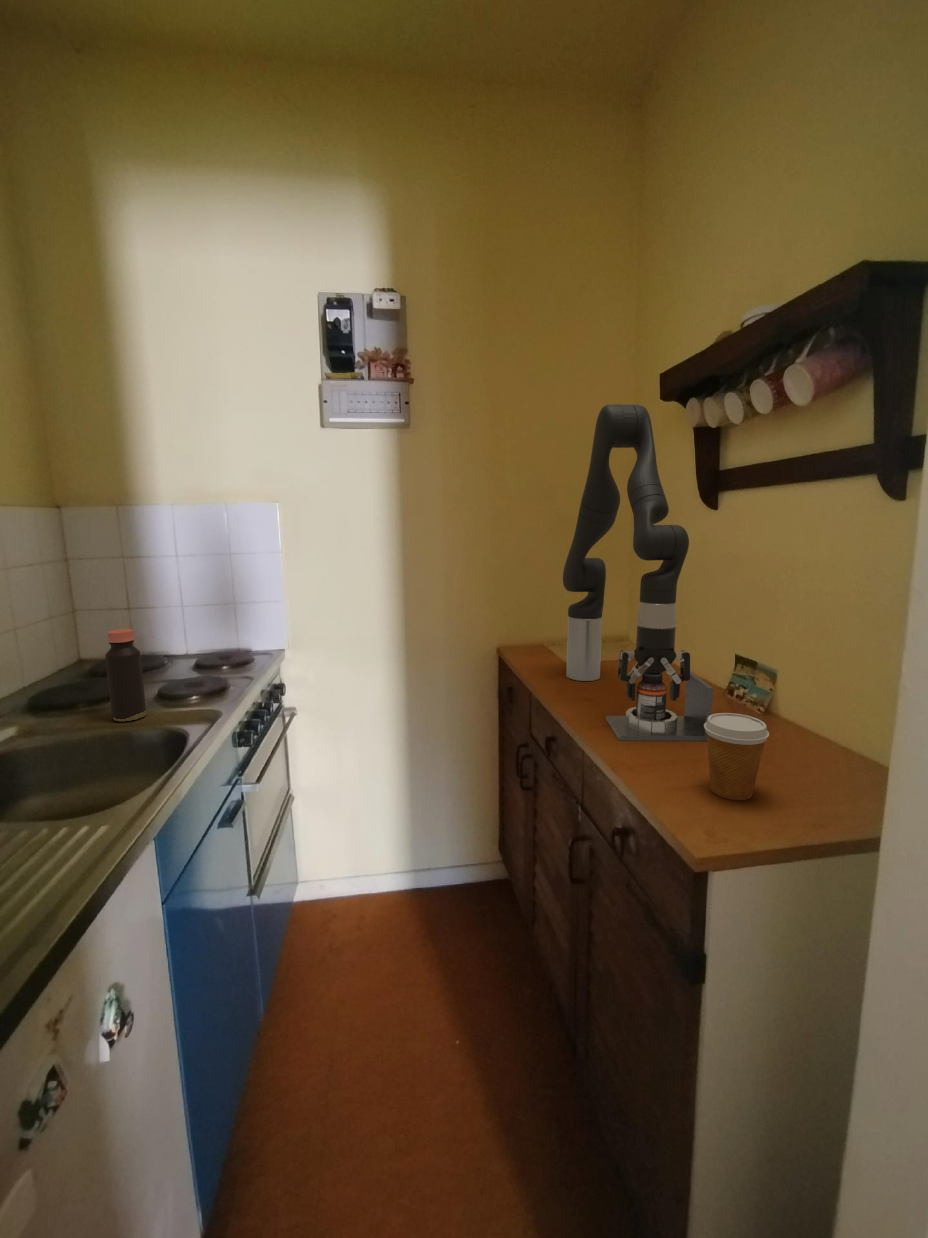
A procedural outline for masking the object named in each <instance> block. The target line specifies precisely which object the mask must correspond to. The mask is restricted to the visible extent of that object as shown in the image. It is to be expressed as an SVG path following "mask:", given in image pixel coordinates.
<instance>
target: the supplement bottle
mask: <svg viewBox="0 0 928 1238" xmlns="http://www.w3.org/2000/svg"><path fill="white" fill-rule="evenodd" d="M641 678H642V679H641V681H639V682H638V683H637V685H636V700H635V701H636V702H635V703H636V704H635V705H636V706H635V707H636V717H638V718H641V719H646V720H652V721H663V720H665V713H666V710H667V705H666V704H667V685H666V684H665V683H664V680H663V673H658V672H653V673H647V672H644V673H643V674H642V675H641Z"/></svg>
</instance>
